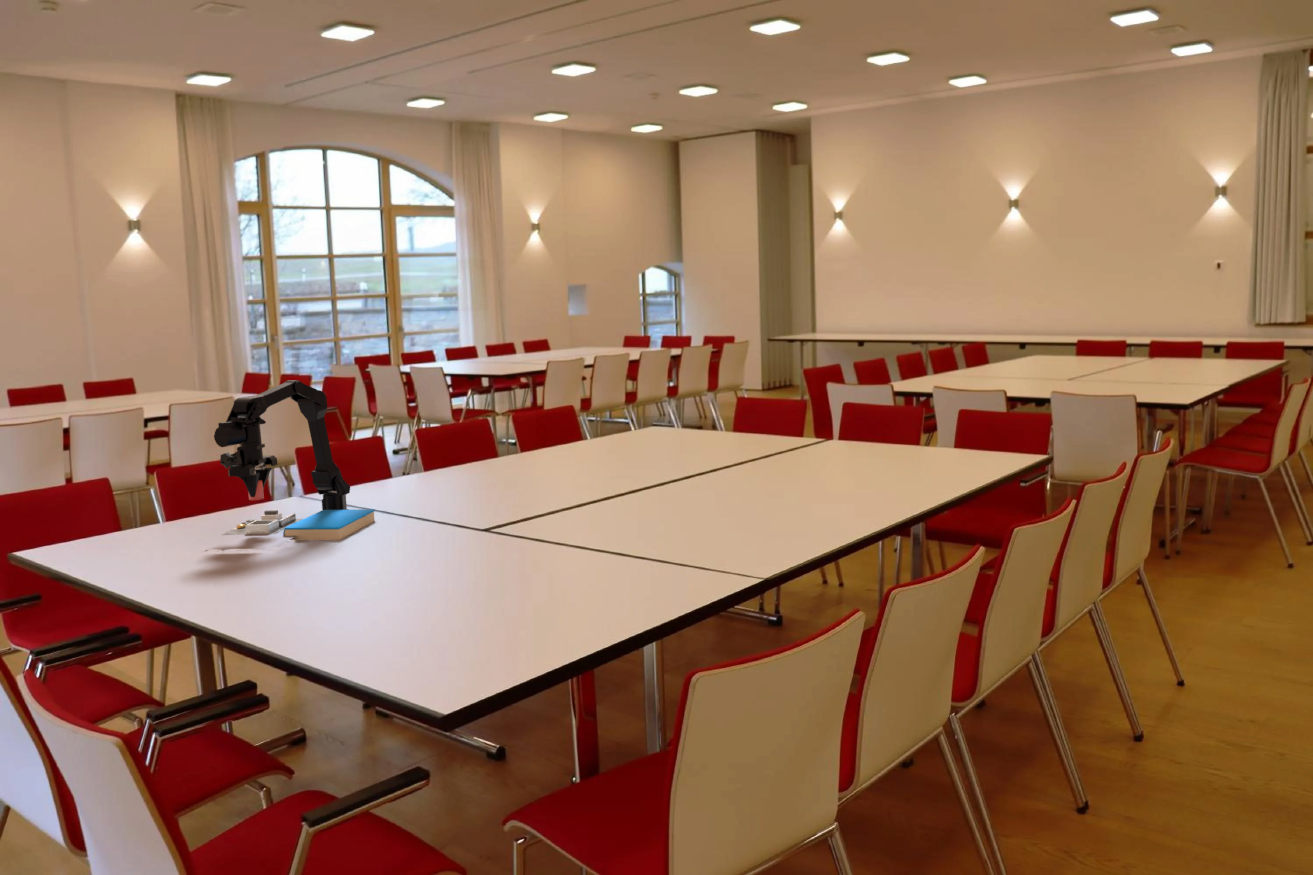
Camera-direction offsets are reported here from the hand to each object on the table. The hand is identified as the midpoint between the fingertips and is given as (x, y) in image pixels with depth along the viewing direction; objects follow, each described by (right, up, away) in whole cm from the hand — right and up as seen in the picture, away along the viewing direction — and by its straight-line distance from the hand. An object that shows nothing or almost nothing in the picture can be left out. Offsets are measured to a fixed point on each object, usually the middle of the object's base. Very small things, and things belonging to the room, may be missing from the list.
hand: (256, 495), depth 310 cm
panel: (-1, -11, +8) cm, 13 cm away
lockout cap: (0, -1, 0) cm, 1 cm away
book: (+20, -11, +5) cm, 23 cm away
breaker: (+2, -9, +8) cm, 12 cm away
